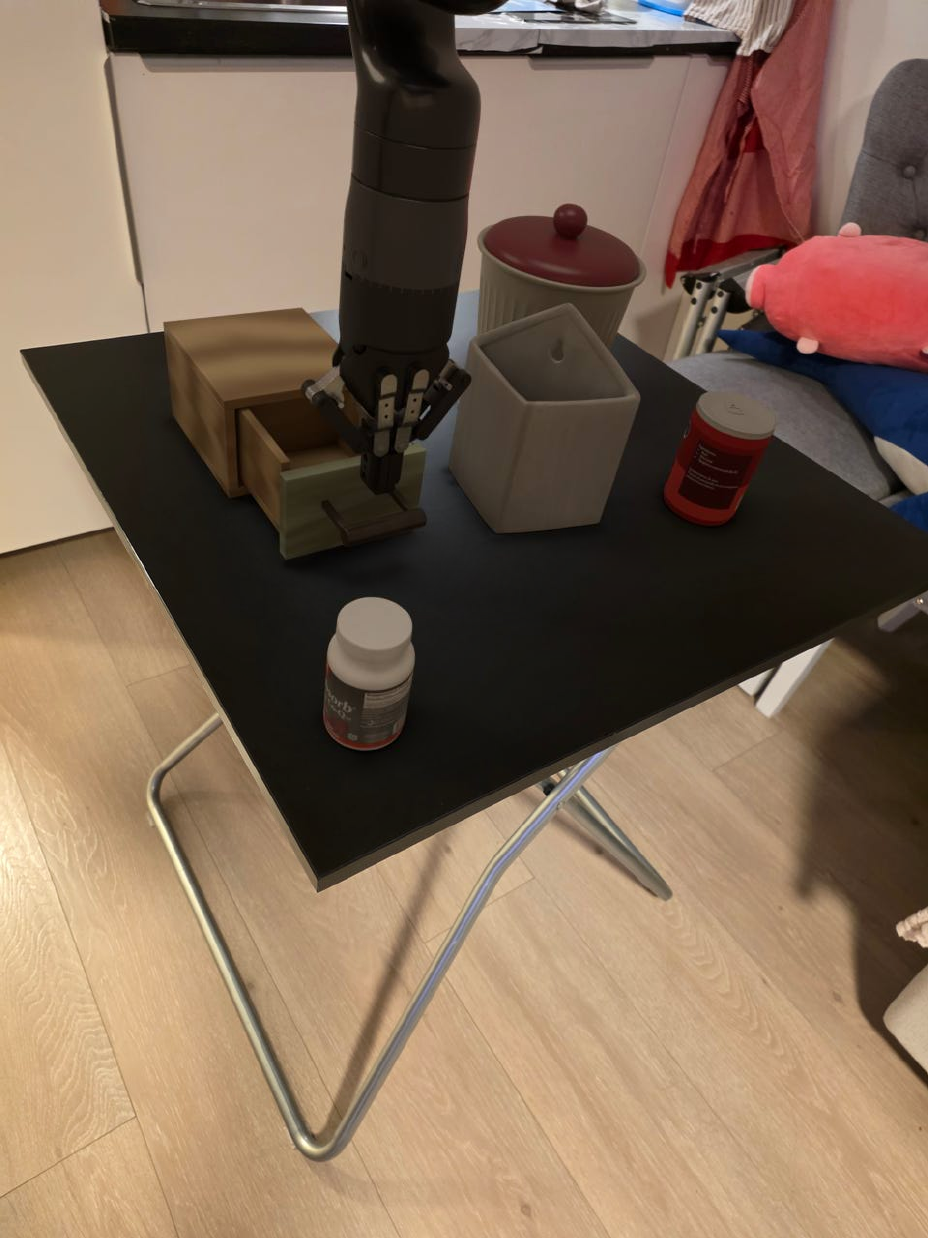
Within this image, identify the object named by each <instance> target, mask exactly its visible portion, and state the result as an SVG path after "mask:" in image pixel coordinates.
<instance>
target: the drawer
mask: <svg viewBox="0 0 928 1238" xmlns="http://www.w3.org/2000/svg"><path fill="white" fill-rule="evenodd" d="M342 393H343V395H344V398H345V399H344V404H345V406H344V408H342V409H341V410H342V412H343V413H344V414H345V415H346V416H347V418H348V419H349V420H350V421H351V422H352V424H353V425H356V426H359V415H358V412H357V410H356V400H355V399H354V397H353V396H352V394H351V393H350V392H349V390H345V391H342ZM235 430H236V451H237V473H238V476H239V477H240V478H241V480H242V481H243V483H244V484H245V485H246V487H247V488H248V490H249V491H250V492H251V494H250V495H251V496H252V497H253V499H254V500H255V501H256V503H257V504H258V505H259V507H260V508H261V509H262V511H263V513H265V515H266V517H267V518H268V519H269V521H270V522H271V524H272V525H273V526H274V528H275V529H276V531H277V532H278V533H279V553H280V555H282V557H283V558H284V560H285V561H288V560H291V559H295V558H299V557H302V556H307V555H310V554H313V553H317V552H322V551H325V550H328V549H332V548H336V547H339V546H344V547H345V548H351V547H354V546H358V545H362V544H365V543H370V542H373V541H377V540H380V539H381V540H382V539H384V538H388V537H391V536H395V535H400V534H402V533H406V532H410V531H414V530H417V529H421V528H424V527H426V526H427V523H428V519H427V515H426V512H425V510H424V509H423V508H422V507H420V501H421V494H422V488H423V487H422V486H423V479H424V474H425V473H424V472H425V466H426V458H427V452H428V451H427V449H426V448H425V446H424V445H422V444H421V443H420V442H419V443H414V444H409V446H408V448H407V449H406V450H405V451H404V456H403V464H402V471H401V478H400V480H399V482H398V484H395V490H394V492H390V493H386V494H381V495H377V496H376V495H375V494H374V493H373V492H372V491H371V490H370V489H369V488H368V487H367V486H366V485H365V484H364V482H363V481H362V480H361V478H360V464H361V454H357V453H355V452H354V451H353V450H352V449H351V448H350V447H349V446H348V444H347V443H346V442H345V441H344V440H343V439H342V438H341V437H340V435H339V434H338V433H337V432H336V431H335V430H334V429H333V428H332V426H331V425H330V424H329V423H328V422H327V421H326V420H325V418H324V417H323V416H322V415H321V414H320V413H319V412H318V411H317V409H316V408H315V407H314V406H313V405H312V404H311V403H310V401H309V400H308V399H307V398H306V397H302V398H296V399H290V400H284V401H278V402H272V403H266V404H260V405H254V406H248V407H242V408H236V409H235Z"/></svg>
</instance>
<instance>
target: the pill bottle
mask: <svg viewBox="0 0 928 1238" xmlns="http://www.w3.org/2000/svg"><path fill="white" fill-rule="evenodd" d="M336 619H337V621H336V628H335V634H333V636H332V637H331V639H330V641H329V644H328V647H327V651H326V664H325V665H326V666H325V667H326V668H325V681H324V682H325V683H324V696H323V697H324V698H323V708H322V710H323V711H322V716H323V723H324V726H325V729H326V731H327V732H328V734H329V735H330V737H331V738H332V739H333V740H335V742H337V743H339V744H340V745H341V746H344V747H345V748H349V749H352V750H355V751H373V750H374V751H375V750H378V749H382V748H384V747H387V746H388V745H390V744H391V743H392V742H394V741H395V740H396V739H397V738H398V737H399V735H400V734H401V732H402V731H403V728H404V725H405V722H406V716H407V715H406V714H407V710H408V705H409V699H410V692H411V687H412V682H413V675H414V670H415V662H416V654H415V648H414V645H413V643H412V641H411V640H412V632H413V622H412V619H411V617H410V614H409V613H408V612H407V610H406V609H404V607H402V606H401V605H399V604H398V603H396V602H394V601H392V600H389V599H386V598H383V597H376V596H375V597H374V596H367V597H361V598H356V599H355V600H352V601H350V602H348V603H347V604H345V605H344V606H343V608H342V609H341V610H340V612H339V613H338V616H337V618H336Z"/></svg>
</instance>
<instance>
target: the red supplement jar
mask: <svg viewBox="0 0 928 1238" xmlns="http://www.w3.org/2000/svg"><path fill="white" fill-rule="evenodd" d="M777 424H778V423H777V418H776V417H775V415H774V414H773V413H772V411H771V410H770V409H769V408H767V407H766V406H765V405H764V404H762V403H761V402H759V401H757V400H755V399H753V398H751V397H749V396H746V395H744V394H741V393H737V392H734V391H727V390H710V391H706V392H704V393H702V394H701V395H700V396H699V398H698V400H697V402H696V404H695V406H694V409H693V412H692V414H691V416H690V419H689V421H688V424H687V426H686V429H685V432H684V435H683V437H682V439H681V442H680V445H679V446H678V449H677V452H676V455H675V457H674V460H673V462H672V465H671V467H670V470H669V473H668V475H667V477H666V480H665V483H664V485H663V486H664V487H663V499H664V500H663V501H664V502H665V504H666V506H667V507H668V508H669V509H670V511H672V512H673V513H674V514H675V515H676V516H678V517H680V518H681V519H684V520H685V521H687V522H689V523H692V524H695V525H698V526H704V527H717V526H721V525H724V524H725V523H727V522H729V521H730V519H731V518H732V517H733V516H735V513H736V512H737V510H738V508H739V505H740V503H741V502H742V499H743V497H744V495H745V493H746V491H747V489H748V487H749V485H750V483H751V481H752V479H753V477H754V475H755V473H756V470H757V469H758V466H759V464H760V463H761V460H762V459H763V457H764V454H765V452H766V450H767V449H768V446H769V444H770V442H771V440H772V438H773V435H774V433H775V430H776V428H777Z"/></svg>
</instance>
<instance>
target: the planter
mask: <svg viewBox="0 0 928 1238" xmlns="http://www.w3.org/2000/svg"><path fill="white" fill-rule="evenodd" d="M558 341H562V342H563V347H562V352H563V355H564V356H563V359H562V360H561V361H556V360H555V359H554V358H552V351H553V350H554V349H555V348H556V347H557V345H558ZM468 343H469V344H468V349H467V352H466V357H465V364H464V368H463V370H465V371H466V372H467V373H468V374H469V375H470V376H471V383H470V385H469V386H468V387H467V389H466V390H465V391H464V393H463V394H462V395H461V396H460V398H459V399H458V406H457V411H456V418H455V424H454V430H453V435H452V442H451V447H450V454H449V459H448V460H449V461H448V466H447V467H448V469H449V471H450V473H451V474H452V476H453V477H454V479H455V480H456V482H457V484H458V485H459V486H460V488H461V490H462V492H463V493H464V494H465V496H466V497H467V499H468V500H469V502H471V504H472V506H473V508H474V509H475V510H476V511H477V513H478V514H479V516H480V517H481V518H482V519H483V520H484V522H485V523H486V524H487V525H488V527H489V528H490V529H491V530H492V532H493V533H495V534H512V533H513V534H515V533H516V534H517V533H529V532H539V531H550V530H551V531H552V530H559V529H567V528H575V527H583V526H590V525H596V524H599V523H600V522H601V519H602V516H603V513H604V511H605V507H606V504H607V501H608V498H609V495H610V492H611V489H612V487H613V483H614V481H615V478H616V474H617V471H618V469H619V466H620V463H621V460H622V457H623V454H624V452H625V448H626V446H627V442H628V440H629V435H630V434H631V430H632V427H633V425H634V422H635V419H636V415H637V412H638V409H639V406H640V402H641V395H640V392H639V390H638V389H637V388H636V386H635V385H634V383H633V382H632V380H631V379H630V378H629V376H628V375H627V373H626V372H625V370H624V369H623V368H622V366H621V365H620V362H619V361H617V359H616V358H615V357H614V356H613V354H612V352H611V350H608V349H607V348H606V346H605V345H604V344H603V342H602V341H601V340H600V338H599V337H598V336H597V335H596V333H595V332H594V331H593V329H592V328H591V327H590V325H589V324H588V323H587V321H586V320H585V319H584V318H583V316H582V315H581V314H580V312H579V311H578V310H577V309H576V307H575V306H574V305H573V304H571V303H565V304H562V305H559V306H556V307H553V308H550V309H548V310H545V311H542V312H539V313H536V314H534V315H531V316H528V317H525V318H522V319H520V320H517V321H514V322H511V323H509V324H506V325H503V326H501V327H499V328H496V329H494V330H491V331H489V332H486V333H484V334H481V335H478V336H477V335H476V336H473V337H472V338H471V339H470V340H469V342H468Z"/></svg>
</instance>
